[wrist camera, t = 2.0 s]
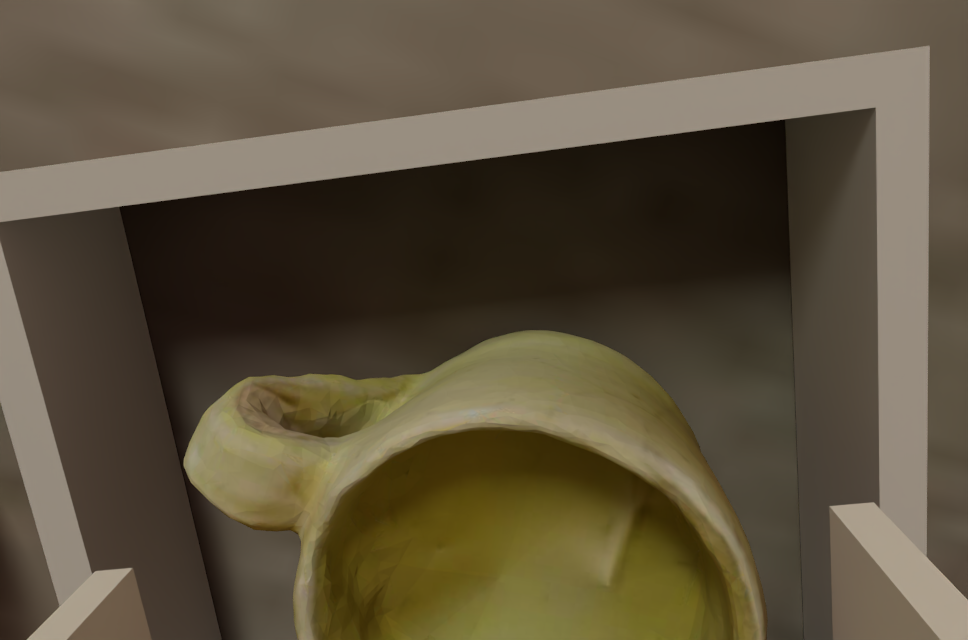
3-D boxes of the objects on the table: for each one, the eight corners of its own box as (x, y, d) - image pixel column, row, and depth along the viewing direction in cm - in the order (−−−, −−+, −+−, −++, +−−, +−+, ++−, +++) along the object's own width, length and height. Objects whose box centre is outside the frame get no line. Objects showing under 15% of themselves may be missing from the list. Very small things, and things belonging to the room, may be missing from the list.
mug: (856, 444, 19) (891, 779, 11) (607, 628, 24) (495, 953, 16) (502, 139, 20) (270, 221, 12) (333, 378, 25) (86, 558, 17)
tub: (212, 728, 24) (136, 873, 20) (74, 171, 20) (-64, 180, 15) (838, 677, 23) (925, 821, 18) (823, 70, 19) (929, 45, 14)
